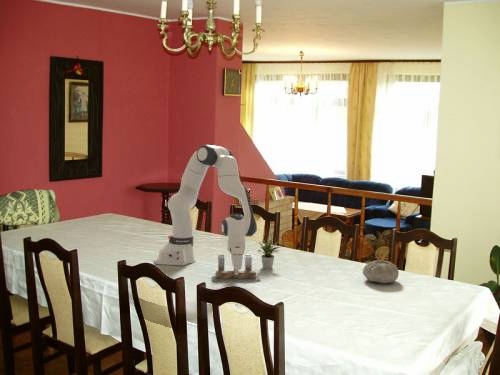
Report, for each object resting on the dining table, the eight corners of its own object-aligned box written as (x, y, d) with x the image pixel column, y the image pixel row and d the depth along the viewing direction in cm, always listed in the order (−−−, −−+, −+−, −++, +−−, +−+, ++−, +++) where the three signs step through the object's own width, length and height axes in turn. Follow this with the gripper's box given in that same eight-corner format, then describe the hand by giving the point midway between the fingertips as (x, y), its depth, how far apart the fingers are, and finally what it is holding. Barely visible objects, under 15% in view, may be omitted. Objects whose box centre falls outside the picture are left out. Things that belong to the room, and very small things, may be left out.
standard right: (243, 276, 307) (244, 257, 306) (242, 272, 314) (243, 254, 312) (253, 276, 308) (253, 257, 306) (252, 272, 314) (252, 254, 313)
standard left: (216, 276, 306) (216, 257, 304) (215, 272, 312) (216, 254, 311) (226, 276, 306) (226, 257, 305) (225, 272, 313) (225, 254, 311)
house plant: (260, 272, 314) (261, 242, 312) (248, 265, 326) (249, 236, 324) (283, 269, 321) (284, 239, 318) (271, 263, 333) (272, 234, 331)
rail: (216, 278, 300) (216, 272, 299) (216, 276, 302) (216, 271, 302) (256, 278, 302) (256, 272, 301) (255, 276, 305) (255, 270, 304)
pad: (212, 281, 297) (212, 280, 297) (211, 277, 304) (211, 276, 304) (260, 281, 300) (260, 279, 300) (258, 276, 307) (258, 275, 307)
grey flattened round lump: (391, 289, 292) (392, 269, 290) (357, 282, 301) (357, 263, 299) (402, 280, 307) (404, 261, 305) (369, 274, 316) (370, 255, 314)
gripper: (228, 241, 309) (228, 267, 312) (231, 251, 289) (231, 279, 291) (240, 241, 310) (240, 267, 312) (244, 251, 290) (243, 279, 292)
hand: (235, 273), depth 302 cm, fingers open, 3 cm apart
